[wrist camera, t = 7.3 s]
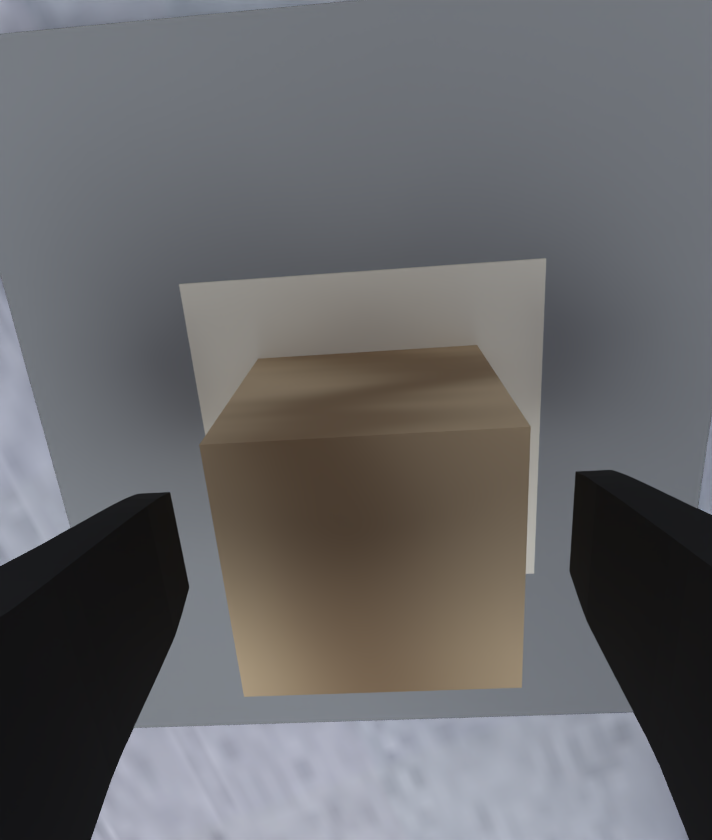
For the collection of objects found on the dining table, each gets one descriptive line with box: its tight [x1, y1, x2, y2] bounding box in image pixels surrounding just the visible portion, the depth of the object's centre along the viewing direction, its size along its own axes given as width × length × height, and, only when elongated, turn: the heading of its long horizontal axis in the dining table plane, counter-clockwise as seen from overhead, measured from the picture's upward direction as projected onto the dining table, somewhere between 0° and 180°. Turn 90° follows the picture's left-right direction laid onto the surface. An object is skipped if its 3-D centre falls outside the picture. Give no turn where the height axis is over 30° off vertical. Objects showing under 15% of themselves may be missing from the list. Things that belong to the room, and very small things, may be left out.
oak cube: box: [199, 345, 531, 697], centre depth 12 cm, size 5×5×5 cm
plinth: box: [0, 0, 712, 728], centre depth 16 cm, size 16×18×3 cm
